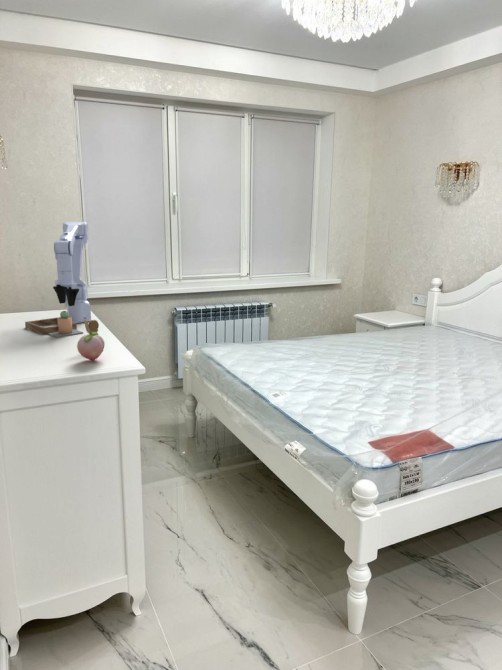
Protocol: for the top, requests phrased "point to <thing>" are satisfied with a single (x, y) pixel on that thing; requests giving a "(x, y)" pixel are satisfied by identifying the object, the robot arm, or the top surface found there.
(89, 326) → the snail figurine
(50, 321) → the frame
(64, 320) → the terracotta pot
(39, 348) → the top surface
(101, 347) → the decorative fruit
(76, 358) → the top surface
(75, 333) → the mat
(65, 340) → the top surface
